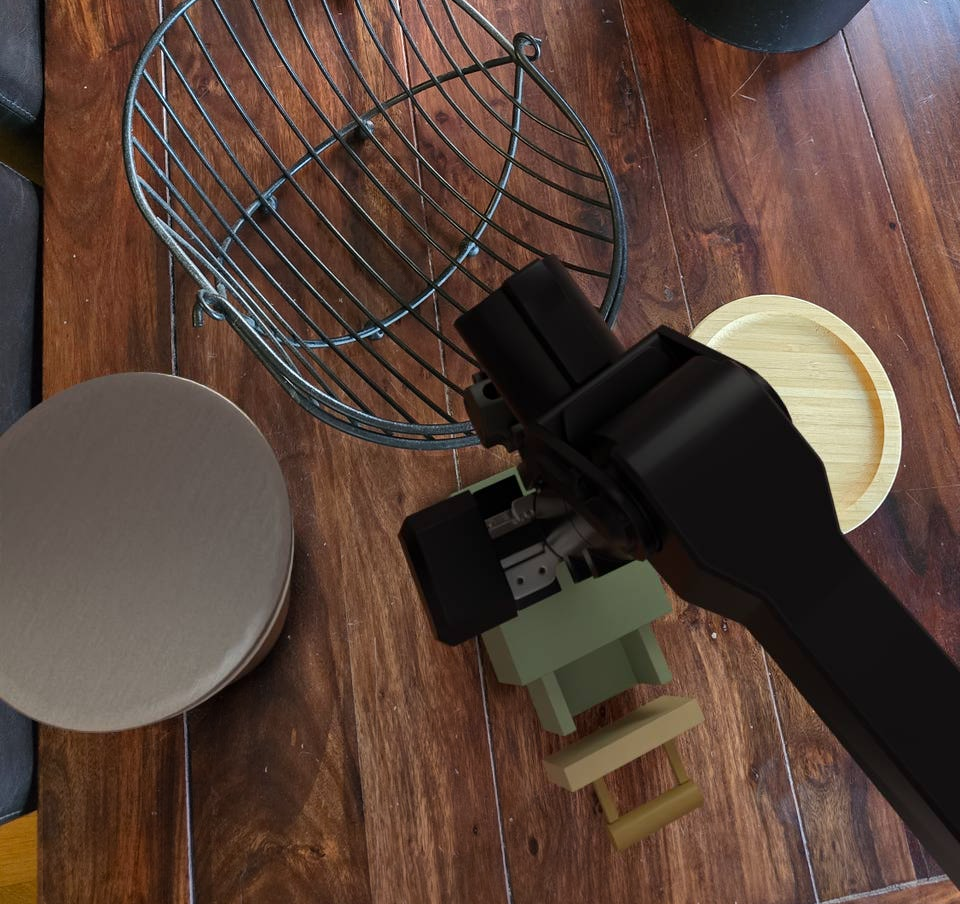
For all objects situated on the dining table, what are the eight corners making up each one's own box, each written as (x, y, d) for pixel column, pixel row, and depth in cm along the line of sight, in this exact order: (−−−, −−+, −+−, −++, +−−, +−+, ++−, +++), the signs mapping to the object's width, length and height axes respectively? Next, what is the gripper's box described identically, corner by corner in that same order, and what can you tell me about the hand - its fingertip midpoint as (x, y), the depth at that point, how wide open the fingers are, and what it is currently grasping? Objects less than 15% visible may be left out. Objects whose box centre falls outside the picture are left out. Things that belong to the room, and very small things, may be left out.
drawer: (702, 785, 68) (739, 796, 62) (577, 855, 65) (603, 873, 60) (605, 557, 73) (631, 549, 67) (486, 614, 70) (502, 611, 65)
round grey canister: (174, 479, 72) (66, 316, 37) (319, 549, 72) (350, 450, 36) (86, 646, 67) (-134, 641, 32) (241, 723, 67) (189, 802, 32)
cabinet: (636, 614, 72) (673, 610, 65) (499, 682, 70) (522, 686, 62) (566, 452, 76) (595, 431, 69) (434, 510, 74) (449, 494, 66)
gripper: (716, 259, 58) (634, 335, 71) (368, 397, 52) (352, 451, 66) (826, 475, 53) (717, 512, 67) (461, 651, 48) (423, 652, 62)
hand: (554, 524), depth 66 cm, fingers closed on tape, 3 cm apart
